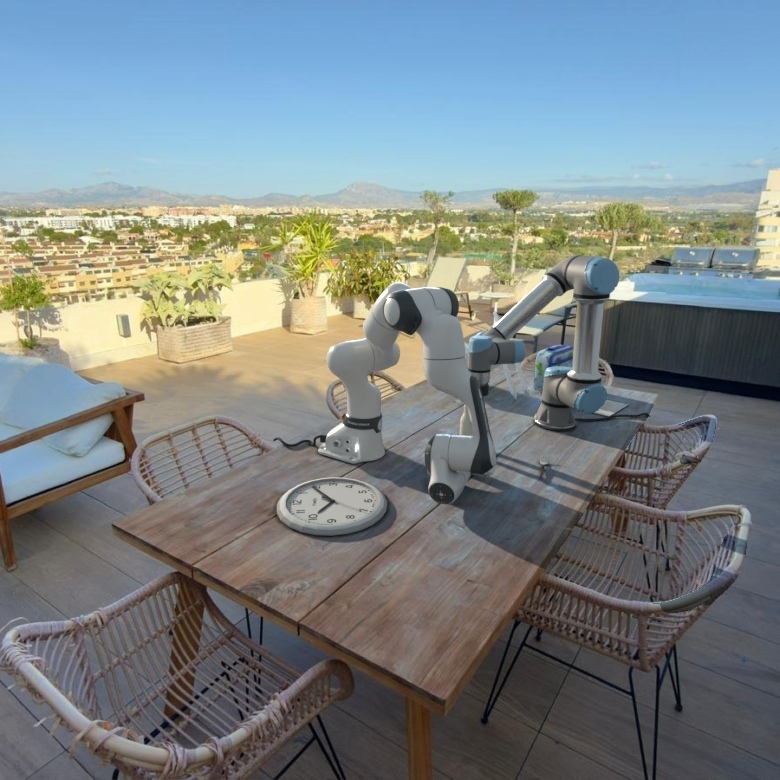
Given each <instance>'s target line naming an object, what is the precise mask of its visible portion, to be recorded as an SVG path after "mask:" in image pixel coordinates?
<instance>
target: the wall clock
mask: <svg viewBox="0 0 780 780" xmlns="http://www.w3.org/2000/svg"><path fill="white" fill-rule="evenodd" d="M387 509H388V500H387V498H386V496H385V494H384V493H383V492H382V491H381V490H380V489H379V488H377V487H376V486H374V485H372V484H371V483H369V482H365V481H362V480H359V479H355V478H349V477H338V476H337V477H335V476H333V477H332V476H331V477H322V478H317V479H312V480H307V481H305V482H302V483H299V484H297V485H295V486H293V487H292V488H290V489H288V490H287V491H286V492H285V493H284V494H283V495H281V496H280V498H279V499H278V502H277V503H276V515H277V517H278V518H279V520H280V521H281V522H282V523H283V524H285V525H286V526H287V527H288V528H290V529H293V530H295V531H297V532H299V533H303V534H308V535H312V536H327V537H328V536H329V537H331V536H332V537H333V536H342V535H350V534H352V533H356V532H361V531H363V530H366V529H368V528H369V527H372V526H373V525H375V524H376V523H378V522H379V521H380V520H381V519H382V518H383V517H384V516H385V514H386V512H387Z"/></svg>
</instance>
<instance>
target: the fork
mask: <svg viewBox="0 0 780 780" xmlns="http://www.w3.org/2000/svg"><path fill="white" fill-rule="evenodd" d="M549 456H550V454H549V453H548V454H547V456H545V455H543V454H541V455H540V459H539V463H540V464H541V467H540V469H539V470H540V472H539V473H540V478H542V477H543V475H544V473H545V465H548V464H549Z"/></svg>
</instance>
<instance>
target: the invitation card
mask: <svg viewBox="0 0 780 780" xmlns="http://www.w3.org/2000/svg"><path fill="white" fill-rule="evenodd" d="M628 406H629V404H627V403H623V402H618V401H614V400H609V399H606V401H605V403H604V405H603V406H602V407H600V409H599V410H598V411H596V412H594V413H593V414H596V415H600V416H604V417H610V416H613V415H615V414H616V413H617V412H619V411H621V410H623V409H624V408H626V407H628Z"/></svg>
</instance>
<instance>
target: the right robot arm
mask: <svg viewBox="0 0 780 780" xmlns="http://www.w3.org/2000/svg"><path fill="white" fill-rule="evenodd" d="M541 279H542V281H541V282H540V283H539V284H537V285H536V286H535V287H534V288H533V289H532V290H530V291H529V292H528V293H527V294H526V295H525V296H524V297H523V298H522V299H521V300H519V302H517V304H515V305H514V306H513V307H512V308H511V309H509V311H508V312H507V313H505V314H504V315H503V316H502V317H501V318H500V320H499V321H498V322H497V323H496V322H495V324H493V325H492V326H491V327H490V328H489V329H488V330H487V331H480V332H477V333H476V334H475V335H472V336H470V338H469V342H468V346H469V347H468V366H467V367H468V370H469V371H470V373H471V374H472V375H473V376H475V377H476V378H477V379H478V381H479V384H480V387H481V390H482V394H483V398H484V397H487V396H488V395H489V394H490V393H489V391H490V380H491V379H490V378H491V372H490V368H491V365H496V364H501V365H502V364H507V365H515V363H520V364H521V363H522V362H524V360H525V358H526V352H527V350H526V349H527V348H526V345H525V343H523V342H522V341H521V340H514V339H513V340H511V339H512V338H513V337H514V336H515V335H516V334H517V333H518V332H519V331H520V330H522V329H523V328H524V327H525V326H526V325H528V324H529V322H530V321H531V320H533V319H534V318H535V317H536V316H537V315H538V314H539V313H540V312H541V311H543V309H545V308H546V307H547V306H548V305H549V304H550V303H551V302H553V300H554V299H556V298H557V297H562V296H563V295H564V294H566V293H567V292H568V291H571V290H573V292H572V293H573V295H572V298H573V299H574V301H576V313H575V315H576V316H575V326H574V327H575V329H574V338H573V339H574V340H573V347H574V350H573V362H572V367H564V366H556V367H549V368H547V369H546V370H545V374H544V381H543V391H541V392H542V394H541V402H540V405H539V407H538V410H537V411H536V413H535V414H534V416H533V417H534V424H535V425H536V426H537V427H539V428H542V429H544V430H549V431H556V432H567V431H572V430H574V429H575V428H576V422H599V421H607V420H611V419H616V418H639V417H643V416H646V417H647V418H651V415H650V414H649V413H648V412H641V413H638V414H613V415H611V416H609V417H608V416H604V417H596V418H577V417H576V416H575V413H574V410H575V411H576V412H578V413H582V414H585V415H590V414H595V413H594V412H596V411H598V410H599V409H600V407H602V406H603V405H604V403H605V401H606V400H607V398H608V390H607V388H606V387H605V386H604V385H603V384H602V377H603V376H602V374H601V373H600V372H599V371H598V370H599V363H600V362H599V360H600V350H601V340H602V328H603V319H604V308H605V303H607V301H608V300H609V299H610V298H611V293H613V292H614V291H615V289H616V288H617V287H618V285H619V282H620V270H619V268H618V266H617V264H616V263H615V262H614V261H613V260H612V259H610V258H608V257H602V256H593V255H581V254H577V255H576V254H575V255H572V256H571V255H570V256H569V257H567V258H565V259H563V260H561V261H559V262H558V263H557V264H556V265H554V266H553V267H552V268H550V270H548V271H547V272H546V273H545V274H544V275H542V278H541ZM575 417H576V418H575Z"/></svg>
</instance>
